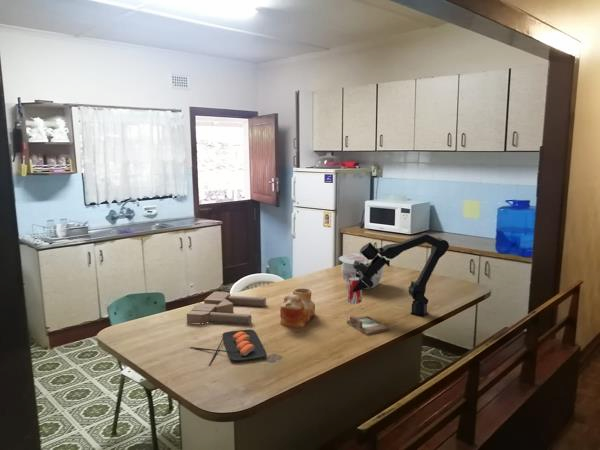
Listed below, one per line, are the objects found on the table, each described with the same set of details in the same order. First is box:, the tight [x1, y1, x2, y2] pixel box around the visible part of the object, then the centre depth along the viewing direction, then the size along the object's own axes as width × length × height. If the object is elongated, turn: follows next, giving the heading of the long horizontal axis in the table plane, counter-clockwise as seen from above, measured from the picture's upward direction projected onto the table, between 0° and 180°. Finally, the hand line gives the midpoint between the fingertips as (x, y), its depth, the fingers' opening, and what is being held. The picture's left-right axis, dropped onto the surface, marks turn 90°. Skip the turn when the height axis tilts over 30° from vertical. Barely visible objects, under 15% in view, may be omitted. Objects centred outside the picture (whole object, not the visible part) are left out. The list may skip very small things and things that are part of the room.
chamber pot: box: [338, 252, 387, 290], centre depth 272 cm, size 28×28×21 cm
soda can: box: [346, 277, 363, 305], centre depth 224 cm, size 7×7×12 cm
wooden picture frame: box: [346, 315, 390, 336], centre depth 211 cm, size 16×12×4 cm
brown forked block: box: [186, 291, 267, 326], centre depth 231 cm, size 35×6×29 cm
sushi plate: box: [190, 329, 267, 367], centre depth 189 cm, size 29×30×4 cm
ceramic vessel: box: [279, 287, 316, 328], centre depth 219 cm, size 14×26×15 cm, turn 160°
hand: (351, 289), depth 224 cm, fingers closed on soda can, 7 cm apart
